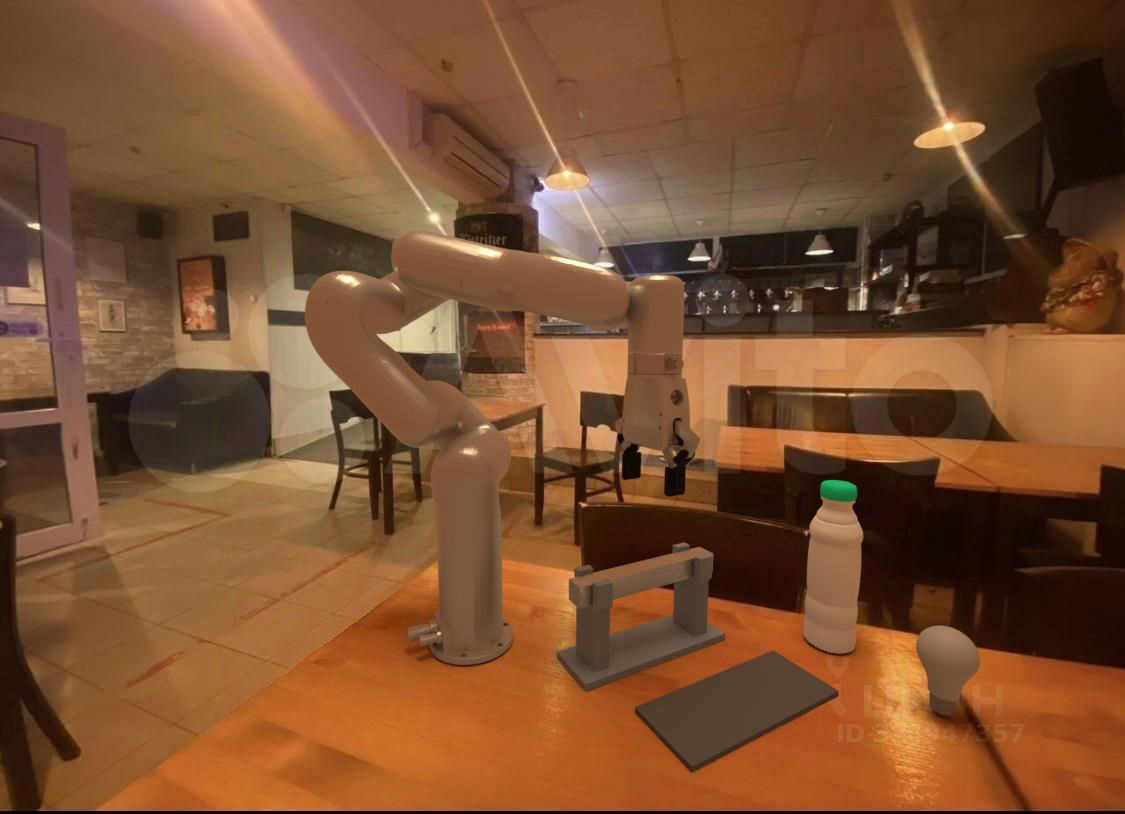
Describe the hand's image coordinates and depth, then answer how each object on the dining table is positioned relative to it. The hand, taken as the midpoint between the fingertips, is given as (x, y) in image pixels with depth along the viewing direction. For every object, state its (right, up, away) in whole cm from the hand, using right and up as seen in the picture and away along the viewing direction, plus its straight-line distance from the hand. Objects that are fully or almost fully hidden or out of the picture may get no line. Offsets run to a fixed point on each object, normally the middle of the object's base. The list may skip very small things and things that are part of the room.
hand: (651, 486), depth 71 cm
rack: (-1, -25, +3) cm, 25 cm away
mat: (+10, -26, -9) cm, 29 cm away
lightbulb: (+34, -26, -10) cm, 44 cm away
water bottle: (+28, -25, +5) cm, 38 cm away
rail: (-1, -15, +2) cm, 15 cm away
